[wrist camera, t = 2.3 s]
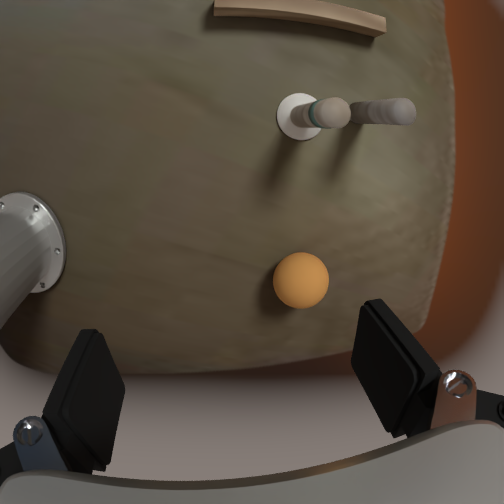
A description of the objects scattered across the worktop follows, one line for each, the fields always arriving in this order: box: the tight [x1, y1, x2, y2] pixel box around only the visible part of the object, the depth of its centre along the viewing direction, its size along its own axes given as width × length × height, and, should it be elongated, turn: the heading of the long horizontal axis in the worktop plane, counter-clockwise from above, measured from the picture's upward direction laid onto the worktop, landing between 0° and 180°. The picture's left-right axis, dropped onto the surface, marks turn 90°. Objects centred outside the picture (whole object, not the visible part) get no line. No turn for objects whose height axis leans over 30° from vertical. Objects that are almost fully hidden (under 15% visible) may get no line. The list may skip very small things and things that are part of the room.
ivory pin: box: [290, 97, 351, 128], centre depth 24 cm, size 2×2×9 cm
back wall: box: [214, 0, 387, 37], centre depth 22 cm, size 2×18×2 cm, turn 90°
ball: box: [273, 252, 329, 308], centre depth 32 cm, size 6×6×6 cm
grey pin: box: [349, 98, 416, 125], centre depth 25 cm, size 2×2×9 cm
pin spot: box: [277, 93, 322, 140], centre depth 28 cm, size 5×5×1 cm
